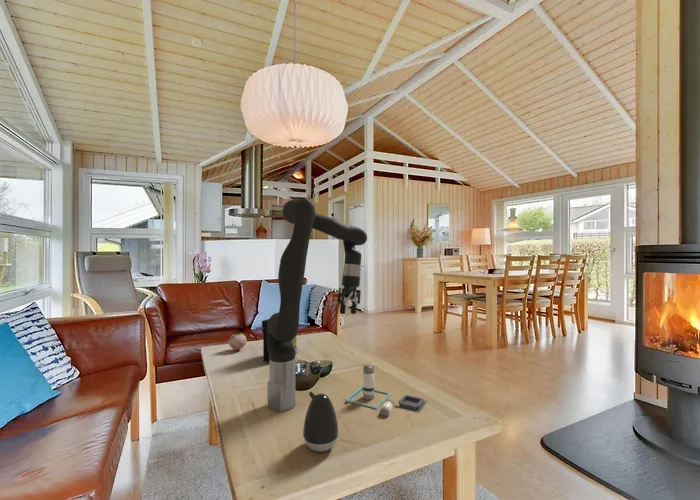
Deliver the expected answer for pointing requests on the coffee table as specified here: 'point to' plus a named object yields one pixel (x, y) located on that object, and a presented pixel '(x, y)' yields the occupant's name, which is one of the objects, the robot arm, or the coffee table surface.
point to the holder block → (411, 403)
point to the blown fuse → (368, 382)
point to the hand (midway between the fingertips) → (347, 313)
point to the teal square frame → (356, 393)
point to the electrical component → (265, 349)
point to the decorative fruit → (237, 341)
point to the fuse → (387, 408)
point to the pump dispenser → (320, 423)
